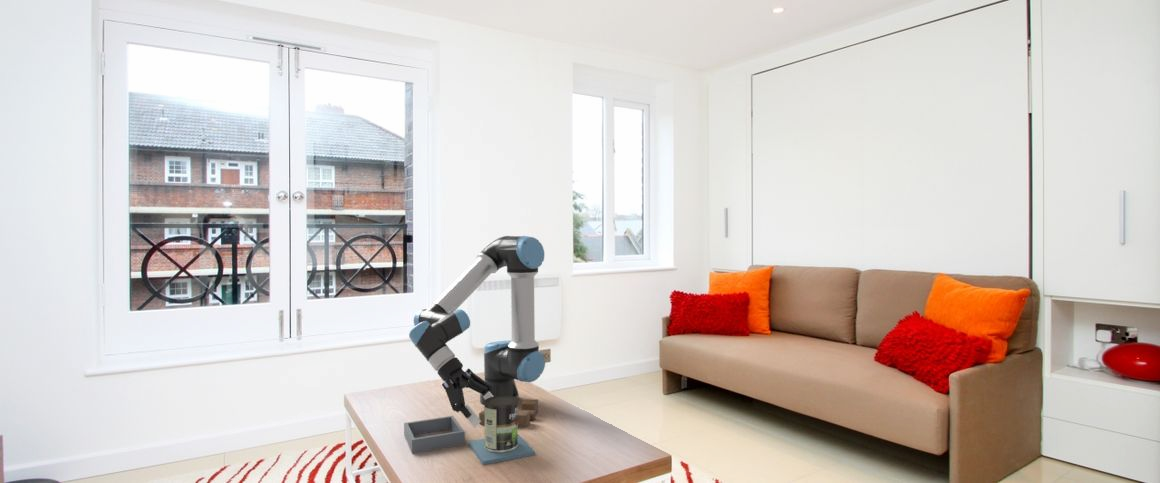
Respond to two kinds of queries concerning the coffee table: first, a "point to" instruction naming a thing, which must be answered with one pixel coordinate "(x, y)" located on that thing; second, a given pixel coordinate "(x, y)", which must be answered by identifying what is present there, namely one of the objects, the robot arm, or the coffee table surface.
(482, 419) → the wooden block set
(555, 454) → the coffee table surface
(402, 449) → the coffee table surface
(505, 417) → the coffee can
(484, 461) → the board
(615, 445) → the coffee table surface
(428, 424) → the bin
